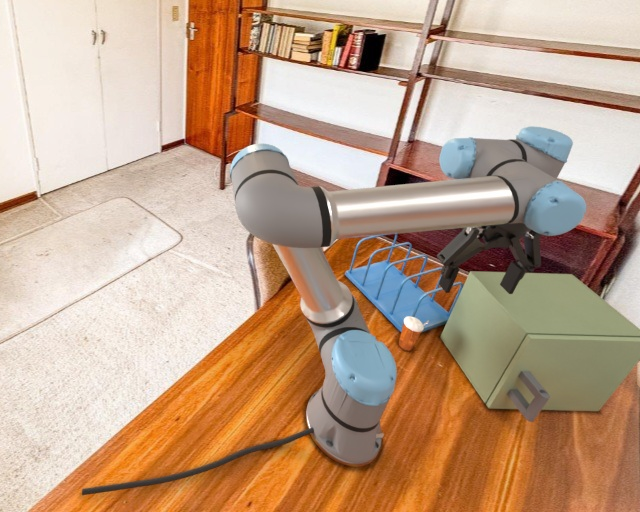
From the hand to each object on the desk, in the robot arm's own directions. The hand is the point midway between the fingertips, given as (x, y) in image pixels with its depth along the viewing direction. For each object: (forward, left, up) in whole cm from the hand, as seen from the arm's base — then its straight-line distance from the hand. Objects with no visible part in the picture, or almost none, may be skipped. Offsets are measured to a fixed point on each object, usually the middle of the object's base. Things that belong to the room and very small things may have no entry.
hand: (474, 288), depth 85 cm
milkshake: (-2, +8, -29) cm, 30 cm away
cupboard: (+21, +2, -29) cm, 36 cm away
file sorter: (+3, +25, -29) cm, 39 cm away
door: (+21, -10, -29) cm, 37 cm away
